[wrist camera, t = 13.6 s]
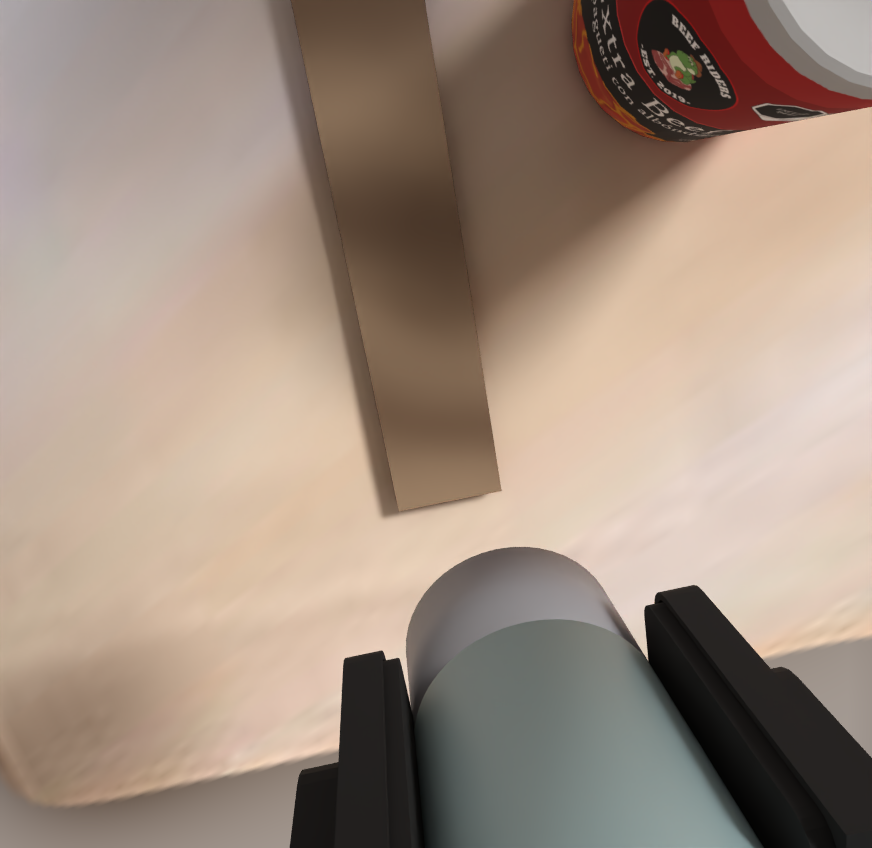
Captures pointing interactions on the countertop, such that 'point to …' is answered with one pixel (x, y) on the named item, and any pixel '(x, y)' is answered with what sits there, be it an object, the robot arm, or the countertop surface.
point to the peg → (550, 719)
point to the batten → (401, 241)
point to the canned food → (722, 62)
